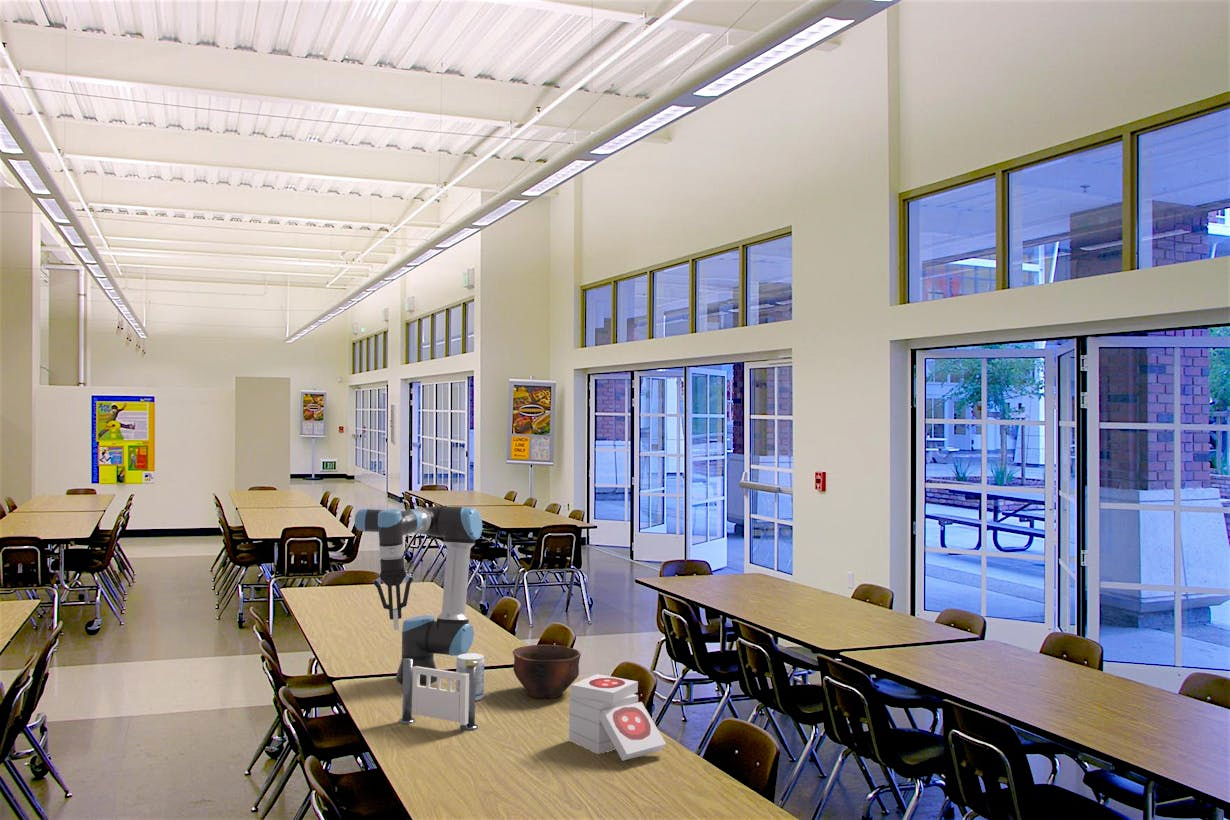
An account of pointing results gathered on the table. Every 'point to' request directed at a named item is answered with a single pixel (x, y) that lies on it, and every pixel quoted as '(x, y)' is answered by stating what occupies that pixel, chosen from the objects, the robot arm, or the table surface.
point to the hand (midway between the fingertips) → (396, 628)
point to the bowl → (546, 669)
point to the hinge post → (407, 691)
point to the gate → (441, 696)
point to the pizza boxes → (611, 718)
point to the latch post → (471, 693)
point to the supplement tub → (479, 672)
